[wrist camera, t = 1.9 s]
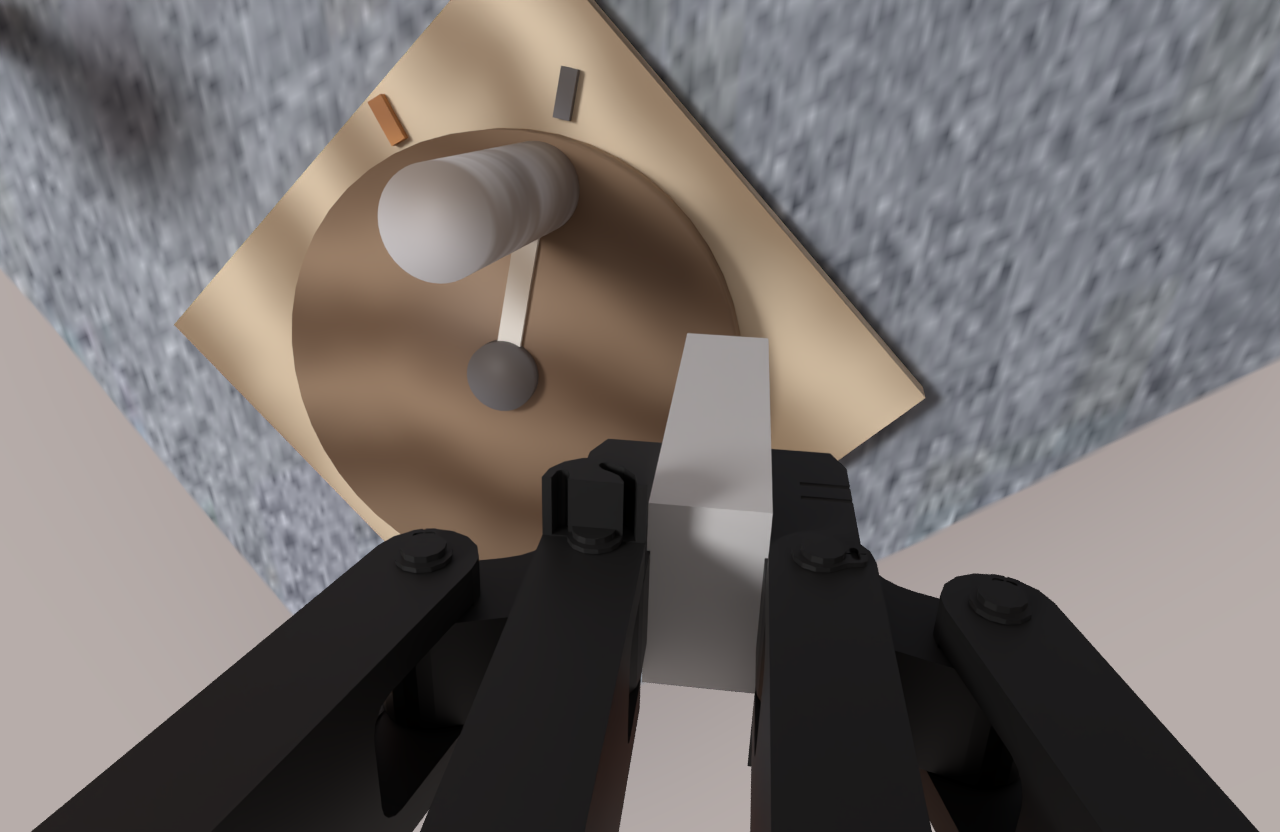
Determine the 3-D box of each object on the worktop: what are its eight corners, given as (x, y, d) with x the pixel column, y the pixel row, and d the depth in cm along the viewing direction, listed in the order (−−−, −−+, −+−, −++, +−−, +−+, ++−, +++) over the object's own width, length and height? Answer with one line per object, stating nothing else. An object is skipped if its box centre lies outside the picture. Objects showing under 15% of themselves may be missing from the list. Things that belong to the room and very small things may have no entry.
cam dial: (684, 608, 44) (631, 784, 33) (300, 493, 46) (131, 622, 35) (797, 192, 37) (778, 240, 26) (333, 79, 39) (133, 78, 28)
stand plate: (531, -75, 37) (515, -82, 35) (922, 386, 40) (926, 401, 38) (194, 317, 46) (168, 326, 45) (533, 668, 49) (521, 689, 48)
